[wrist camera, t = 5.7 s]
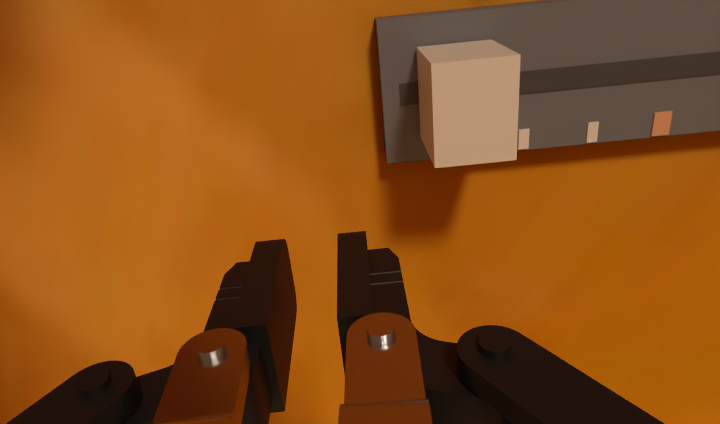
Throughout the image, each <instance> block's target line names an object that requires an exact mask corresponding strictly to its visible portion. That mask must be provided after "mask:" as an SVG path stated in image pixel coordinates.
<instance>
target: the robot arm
mask: <svg viewBox="0 0 720 424" xmlns="http://www.w3.org/2000/svg"><path fill="white" fill-rule="evenodd" d="M296 312H297V305H296V293H295V287H294V281H293V275H292V269H291V264H290V258H289V252H288V247H287V243H286V240H285V239H280V240H269V241H259V242H256V243H255V246H254V249H253V252H252V256H251V259H250V261H249V262H239V263H236V264H235V265H234V266H233V267H232V268H231V269H230V270H229V271H228V272H227V273H226V274H225V275H224V277H223V280H222V283H221V286H220V290H219V291H218V294H217V296H216V301H215V302H214V305H213V307H212V310H211V313H210V316H209V318H208V321H207V324H206V327H205V329H204V332H202V333H200V334H198V335H196V336H194V337H192V338H191V339H189V340H188V341H187V342H186V343H185V344H184V345H183V346H182V347H181V348H180V350H179V352H178V354H177V356H176V359H175V362H174V364H173V365H171V366H169V367H166V368H163V369H160V370H157V371H154V372H151V373H148V374H145V375H141V376H138V377H136V375H135V373H134V370H133V368H132V367H131V366H130V365H129V364H128V363H126V362H122V361H106V362H101V363H97V364H94V365H92V366H89V367H87V368H85V369H83V370H81V371H79V372H78V373H76V374H75V375H73V376H72V377H70V378H69V379H68V380H66V381H65V382H63V383H62V384H61V385H59V386H58V387H57V388H55V389H54V390H52V391H51V392H50V393H48V394H47V395H45V396H44V397H43V398H41V399H40V400H39V401H37V402H36V403H34V404H33V405H32V406H30V407H29V408H27V409H26V410H25V411H23V412H22V413H21V414H19V415H18V416H16V417H15V418H14V419H12V420H11V421H9V422H8V423H7V424H269V417H270V413H273V412H283V411H285V403H286V395H287V387H288V379H289V371H290V363H291V354H292V346H293V338H294V330H295V322H296ZM337 321H338V328H339V336H340V343H341V350H342V357H343V365H344V372H345V393H344V404H340V407H339V418H338V424H664V423H662V422H661V421H659V420H658V419H656V418H654V417H653V416H651V415H650V414H648V413H646V412H645V411H643V410H642V409H640V408H639V407H637V406H635V405H634V404H632V403H631V402H629V401H627V400H626V399H624V398H623V397H621V396H619V395H618V394H616V393H615V392H613V391H611V390H610V389H608V388H607V387H605V386H603V385H602V384H600V383H599V382H597V381H595V380H594V379H592V378H591V377H589V376H587V375H586V374H584V373H583V372H581V371H579V370H578V369H576V368H575V367H573V366H572V365H570V364H568V363H567V362H565V361H564V360H562V359H560V358H559V357H557V356H556V355H554V354H552V353H551V352H549V351H548V350H546V349H544V348H543V347H541V346H540V345H538V344H536V343H535V342H533V341H532V340H530V339H528V338H527V337H525V336H524V335H522V334H520V333H519V332H517V331H515V330H512V329H510V328H507V327H503V326H495V325H487V326H479V327H476V328H473V329H470V330H468V331H467V332H465V333H464V334H463V335H462V336H461V337H460V339H459V340H458V343H451V342H444V341H439V340H435V339H432V338H429V337H427V336H425V335H423V334H422V333H420V332H419V331H418V330H417V329H416V328H415V327H414V325H413V324H412V322H411V319H410V314H409V309H408V304H407V299H406V294H405V289H404V284H403V279H402V274H401V268H400V263H399V258H398V257H397V256H396V255H395V254H394V253H393V252H392V251H391V250H390V249H389V248H382V249H371V250H367V240H366V231H361V232H351V233H341V234H338V259H337Z"/></svg>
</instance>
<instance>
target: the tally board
mask: <svg viewBox="0 0 720 424" xmlns="http://www.w3.org/2000/svg"><path fill="white" fill-rule="evenodd" d="M375 26H376V39H377V52H378V65H379V78H380V92H381V105H382V118H383V131H384V144H385V156H386V160H387V164H390V163H400V162H411V161H421V160H431V159H430V157H429V155H428V152H427V150H426V148H425V146H424V144H423V141H422V139H421V136H420V114H419V92H418V69H417V47H421V46H431V45H441V44H451V43H461V42H471V41H480V40H490V39H492V40H494V41H496V42H497V43H499V44H501V45H503V46H505V47H507V48H509V49H511V50H513V51H515V52H516V53H518V54H520V55H521V58H520V84H519V110H518V136H517V151H521V150H531V149H541V148H551V147H561V146H571V145H581V144H591V143H601V142H611V141H621V140H631V139H641V138H651V137H661V136H671V135H681V134H691V133H701V132H711V131H720V0H544V1H534V2H525V3H515V4H505V5H495V6H486V7H476V8H466V9H456V10H447V11H437V12H427V13H417V14H408V15H398V16H388V17H378V18H375Z"/></svg>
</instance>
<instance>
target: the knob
mask: <svg viewBox="0 0 720 424" xmlns="http://www.w3.org/2000/svg"><path fill="white" fill-rule="evenodd" d="M520 58H521V55H520V54H518V53H516V52H515V51H513V50H511V49H509V48H507V47H505V46H503V45H501V44H499V43H497V42H496V41H494V40H492V39H490V40H480V41H471V42H461V43H451V44H441V45H431V46H421V47H417V69H418V92H419V114H420V136H421V139H422V141H423V144H424V146H425V148H426V150H427V152H428V155H429V157H430V159H431V161H432V163H433V166H434V168H442V167H452V166H462V165H472V164H482V163H492V162H502V161H512V160H517V136H518V110H519V84H520Z"/></svg>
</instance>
